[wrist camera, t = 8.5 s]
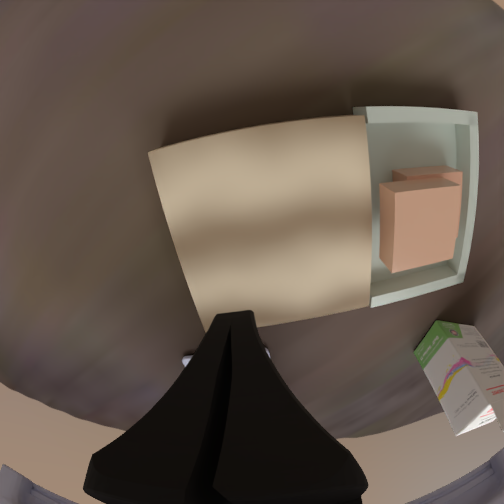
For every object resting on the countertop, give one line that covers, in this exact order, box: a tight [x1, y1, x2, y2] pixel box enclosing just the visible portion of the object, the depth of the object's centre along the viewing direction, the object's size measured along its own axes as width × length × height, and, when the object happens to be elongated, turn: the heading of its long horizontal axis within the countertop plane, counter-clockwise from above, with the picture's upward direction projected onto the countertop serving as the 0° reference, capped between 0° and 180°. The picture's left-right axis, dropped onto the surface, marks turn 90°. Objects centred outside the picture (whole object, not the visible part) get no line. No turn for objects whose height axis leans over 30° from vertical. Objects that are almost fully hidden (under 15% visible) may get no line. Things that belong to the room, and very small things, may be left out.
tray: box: [352, 106, 479, 308], centre depth 17 cm, size 14×9×2 cm
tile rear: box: [392, 165, 463, 238], centre depth 17 cm, size 5×5×2 cm
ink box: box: [414, 320, 504, 436], centre depth 19 cm, size 9×5×15 cm, turn 74°
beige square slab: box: [148, 115, 372, 332], centre depth 18 cm, size 13×12×2 cm
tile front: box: [379, 177, 461, 273], centre depth 15 cm, size 5×5×2 cm
